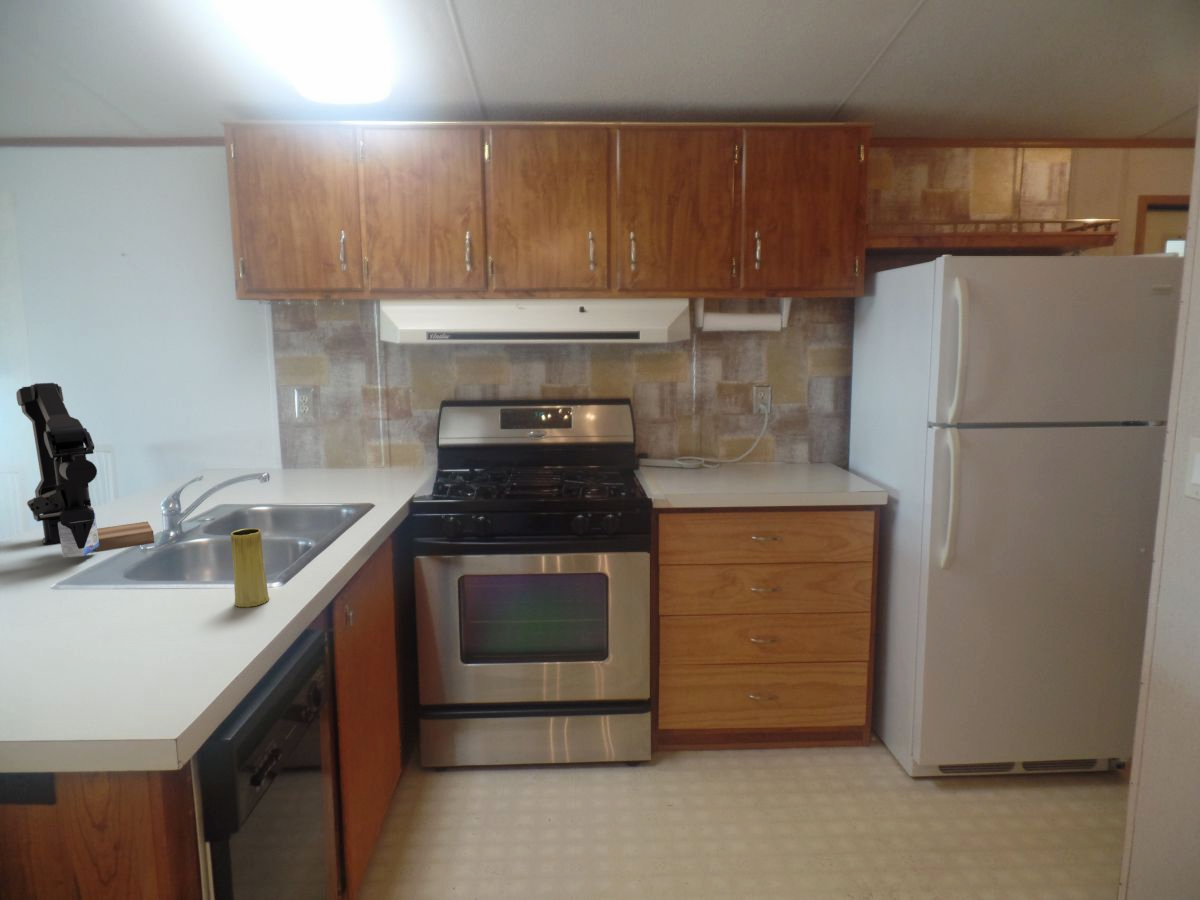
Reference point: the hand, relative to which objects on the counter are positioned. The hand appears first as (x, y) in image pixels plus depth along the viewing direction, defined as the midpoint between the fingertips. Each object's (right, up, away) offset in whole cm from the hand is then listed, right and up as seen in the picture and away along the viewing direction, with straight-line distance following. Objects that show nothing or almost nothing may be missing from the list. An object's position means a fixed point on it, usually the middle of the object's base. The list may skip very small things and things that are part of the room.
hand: (80, 543), depth 165 cm
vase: (+54, -8, -27) cm, 61 cm away
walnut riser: (0, -1, +15) cm, 15 cm away
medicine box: (0, -2, 0) cm, 2 cm away
